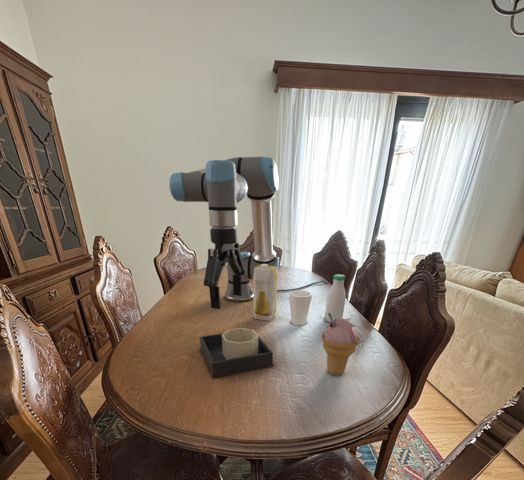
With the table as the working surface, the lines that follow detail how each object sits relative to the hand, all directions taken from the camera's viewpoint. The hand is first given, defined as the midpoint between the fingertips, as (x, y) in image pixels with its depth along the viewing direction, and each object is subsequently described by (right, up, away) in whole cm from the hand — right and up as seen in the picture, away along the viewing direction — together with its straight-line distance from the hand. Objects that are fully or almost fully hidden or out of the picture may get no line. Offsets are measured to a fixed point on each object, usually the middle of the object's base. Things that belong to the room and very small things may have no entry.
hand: (227, 301), depth 89 cm
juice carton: (+12, -1, +41) cm, 43 cm away
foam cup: (+27, -3, +37) cm, 46 cm away
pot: (+4, -14, +5) cm, 15 cm away
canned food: (+41, -10, +25) cm, 49 cm away
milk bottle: (+43, -2, +40) cm, 58 cm away
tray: (+2, -18, +9) cm, 20 cm away
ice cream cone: (+34, -22, +1) cm, 41 cm away
